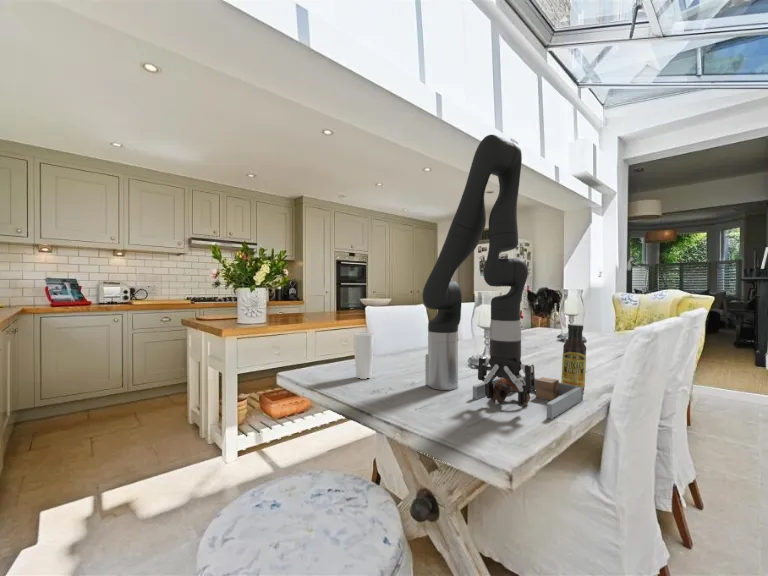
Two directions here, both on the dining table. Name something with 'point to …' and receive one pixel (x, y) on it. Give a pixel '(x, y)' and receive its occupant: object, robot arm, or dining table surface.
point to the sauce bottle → (574, 357)
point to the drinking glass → (363, 354)
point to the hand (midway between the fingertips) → (505, 401)
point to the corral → (566, 399)
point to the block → (547, 388)
